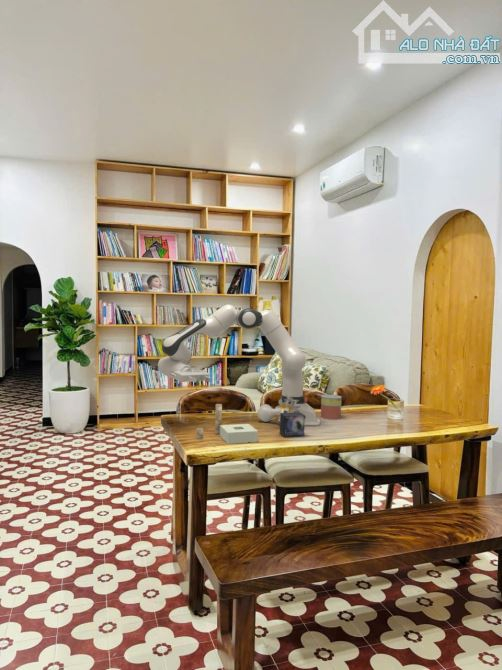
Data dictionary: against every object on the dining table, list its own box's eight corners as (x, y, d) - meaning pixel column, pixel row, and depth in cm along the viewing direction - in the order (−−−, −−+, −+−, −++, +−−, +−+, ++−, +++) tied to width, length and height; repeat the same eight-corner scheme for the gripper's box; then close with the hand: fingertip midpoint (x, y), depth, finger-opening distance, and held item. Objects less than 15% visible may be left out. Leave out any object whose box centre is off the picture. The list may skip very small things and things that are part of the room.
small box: (283, 437, 225) (284, 415, 225) (279, 434, 231) (279, 412, 231) (304, 436, 228) (305, 414, 228) (299, 433, 234) (300, 411, 234)
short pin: (203, 437, 222) (203, 428, 221) (202, 439, 219) (202, 429, 218) (197, 437, 222) (197, 427, 222) (195, 439, 219) (196, 429, 219)
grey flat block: (248, 434, 230) (248, 423, 230) (257, 442, 217) (258, 431, 216) (219, 435, 226) (220, 425, 225) (227, 444, 212) (227, 432, 212)
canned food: (342, 420, 264) (343, 398, 263) (321, 419, 264) (322, 397, 264) (339, 415, 275) (339, 394, 275) (319, 415, 276) (320, 394, 275)
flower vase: (258, 435, 254) (292, 432, 236) (248, 401, 254) (281, 396, 236) (275, 426, 263) (309, 424, 245) (265, 394, 263) (298, 389, 245)
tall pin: (221, 432, 231) (222, 404, 230) (220, 434, 228) (221, 405, 227) (215, 432, 231) (216, 403, 230) (214, 434, 228) (215, 404, 227)
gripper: (169, 367, 233) (189, 374, 225) (197, 366, 250) (217, 373, 242) (166, 379, 234) (187, 387, 226) (195, 378, 250) (215, 385, 243)
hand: (203, 380), depth 234 cm, fingers open, 8 cm apart
